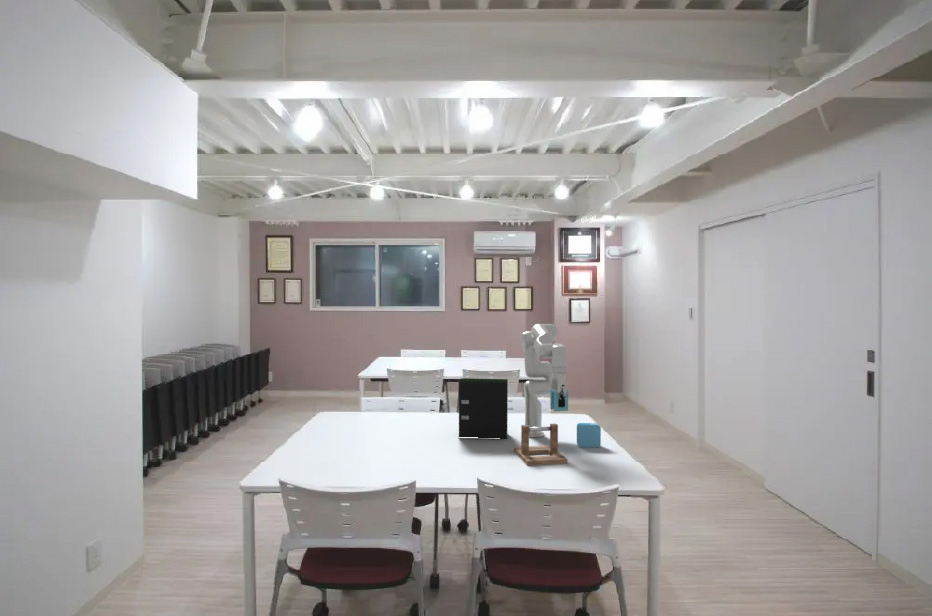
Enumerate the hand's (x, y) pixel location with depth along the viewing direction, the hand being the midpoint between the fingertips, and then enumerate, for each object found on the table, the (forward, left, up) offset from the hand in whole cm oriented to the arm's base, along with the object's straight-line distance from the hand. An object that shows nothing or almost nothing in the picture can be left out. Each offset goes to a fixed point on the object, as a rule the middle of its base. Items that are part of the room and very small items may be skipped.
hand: (559, 405), depth 269 cm
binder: (-44, -29, -26) cm, 59 cm away
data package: (-14, +22, -26) cm, 37 cm away
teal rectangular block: (0, 0, -2) cm, 2 cm away
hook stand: (0, -10, -25) cm, 27 cm away
